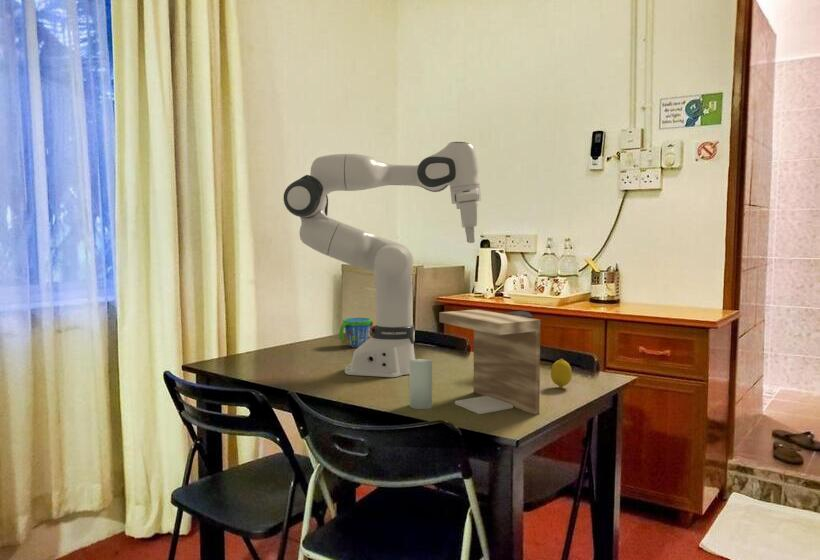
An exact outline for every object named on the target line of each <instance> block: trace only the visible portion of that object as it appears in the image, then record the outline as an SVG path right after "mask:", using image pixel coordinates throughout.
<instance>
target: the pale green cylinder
mask: <svg viewBox="0 0 820 560" xmlns="http://www.w3.org/2000/svg"><path fill="white" fill-rule="evenodd" d="M408 375H409V376H408V377H409V408H411V409H413V410H414V409H415V410H428V409H431V408H432V407H433V361H432V360H430V359H424V358H422V359H421V358H417V359H416V358H415V360H411V361H409V374H408Z"/></svg>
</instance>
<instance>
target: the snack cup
mask: <svg viewBox="0 0 820 560" xmlns="http://www.w3.org/2000/svg"><path fill="white" fill-rule="evenodd" d="M373 324H374V322H373V320H372V319H371V318H369V317H347V318H345V319H343V321H342V323H341V326H340V327H339V335H338V337H339V340H342V341H344V340H345V338H346V344H347V346H348V347H350V346H353V347H352V348H358V347H359V346H360V345H362V344H363V343H364V342H365V341H367V340H368V339H369V338H370V327H371V326H372V325H373ZM344 330H345V334H344Z"/></svg>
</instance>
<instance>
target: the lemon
mask: <svg viewBox="0 0 820 560" xmlns="http://www.w3.org/2000/svg"><path fill="white" fill-rule="evenodd" d="M572 373H573V372H572V367H571V365H570V363H569V362H567V361H566V360H564V359H563V358H559V360H556V361H555V362H554V363H552V366H551V370H550V378H551V381H552V382H553V383H554V384H555V385H556V386H558V388H561V389H562V388H564V387H565V386H568V384H569V383H570V382H571V380H572V377H573V376H572V375H573V374H572Z"/></svg>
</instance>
